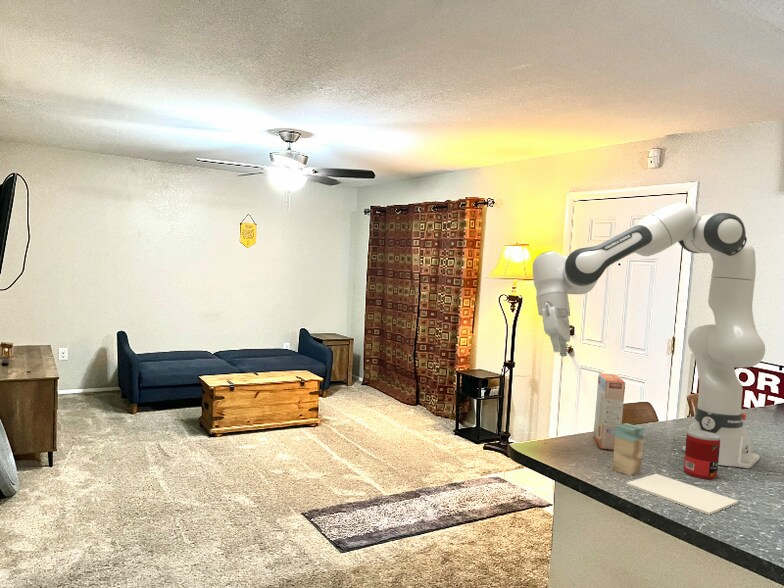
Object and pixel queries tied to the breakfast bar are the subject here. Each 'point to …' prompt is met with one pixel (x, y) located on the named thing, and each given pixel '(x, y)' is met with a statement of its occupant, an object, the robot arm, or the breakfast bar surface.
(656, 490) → the felt mat
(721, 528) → the breakfast bar surface
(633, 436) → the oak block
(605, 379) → the cracker box
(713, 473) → the canned food
